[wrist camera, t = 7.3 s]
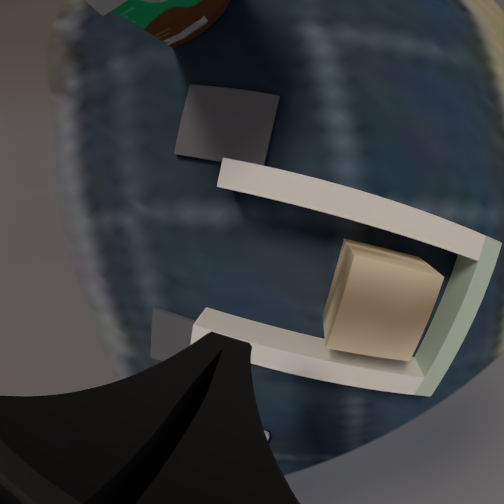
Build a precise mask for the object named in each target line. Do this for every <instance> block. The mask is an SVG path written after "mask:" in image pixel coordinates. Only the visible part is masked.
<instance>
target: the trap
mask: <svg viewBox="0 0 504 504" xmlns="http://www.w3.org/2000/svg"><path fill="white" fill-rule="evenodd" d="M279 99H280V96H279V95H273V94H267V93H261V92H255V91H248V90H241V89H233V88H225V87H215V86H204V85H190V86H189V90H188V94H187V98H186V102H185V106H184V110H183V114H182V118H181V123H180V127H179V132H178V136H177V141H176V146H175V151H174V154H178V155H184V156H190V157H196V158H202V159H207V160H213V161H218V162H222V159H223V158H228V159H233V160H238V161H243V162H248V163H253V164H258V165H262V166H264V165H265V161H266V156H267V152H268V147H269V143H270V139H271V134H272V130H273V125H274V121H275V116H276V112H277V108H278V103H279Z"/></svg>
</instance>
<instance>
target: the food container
mask: <svg viewBox="0 0 504 504" xmlns="http://www.w3.org/2000/svg"><path fill="white" fill-rule="evenodd" d="M85 1H86V2H87V3H88V4H89V5H90V6H92V7H93V8H94V9H95V10H96V11H98V12H99V13H100V14H101V15H102V16H104V15H105V14H107V13H108V12H110V11H113V12H114V13H116V14H118V15H120V16H122V17H123V18H125V19H127V20H129V21H130V22H132V23H134V24H135V25H137V26H139V27H140V28H142V29H144V30H145V31H147V32H148V33H150V34H152V35H153V36H155V37H156V38H158V39H159V40H161V41H163V42H164V43H166V44H167V45H169V46H170V47H172V48H175V47H177V46H180V45H182V44H184V43H186V42H189V41H190V40H192V39H193V38H194V37H196V36H197V35H199V34H200V33H202V32H203V31H205V30H206V29H208V28H209V27H210V26H211V25H212V24H213V23H214V22H215V21H216V20H217V19H218V18H219V17H220V16H221V15H222V14H223V13H224V11H225V9H226V7H227V5H228V4H229V2H230V0H85Z"/></svg>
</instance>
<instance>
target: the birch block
mask: <svg viewBox="0 0 504 504" xmlns="http://www.w3.org/2000/svg"><path fill="white" fill-rule="evenodd" d="M443 279H444V276H442V275H441V274H440V273H439V272H437V271H436V270H435V269H434V268H432V267H431V266H430V265H429V264H427V263H426V262H425V261H423V260H422V259H421V258H420V257H418V256H414V255H410V254H406V253H402V252H398V251H394V250H390V249H386V248H382V247H378V246H374V245H370V244H366V243H362V242H357V241H353V240H349V239H345V238H344V240H343V244H342V248H341V252H340V256H339V260H338V263H337V267H336V271H335V274H334V278H333V282H332V285H331V289H330V292H329V296H328V299H327V302H326V306H325V309H324V312H323V324H324V336H325V348H328V349H333V350H339V351H344V352H350V353H356V354H362V355H368V356H374V357H381V358H388V359H395V360H403V361H410V359H411V357H412V355H413V353H414V351H415V349H416V347H417V345H418V342H419V340H420V338H421V336H422V333H423V331H424V329H425V327H426V324H427V322H428V319H429V317H430V314H431V312H432V309H433V307H434V304H435V302H436V299H437V296H438V294H439V291H440V288H441V285H442V282H443Z"/></svg>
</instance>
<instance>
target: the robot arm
mask: <svg viewBox="0 0 504 504" xmlns="http://www.w3.org/2000/svg"><path fill="white" fill-rule="evenodd" d="M251 350H252V346H251V344H250V343H248V342H245V341H241V340H238V339H234V338H231V337H228V336H225V335H221V334H218V333H215V332H212V331H211V332H209V333H207V334H206V335H204V336H203V337H202V338H200V339H199V340H197V341H196V342H194V343H193V344H191V345H190V346H188V347H186V348H185V349H183V350H182V351H180V352H178V353H177V354H175V355H173V356H171V357H170V358H168V359H166V360H164V361H162V362H160V363H158V364H156V365H154V366H152V367H150V368H148V369H146V370H144V371H142V372H140V373H137V374H135V375H132V376H130V377H127V378H125V379H122V380H119V381H116V382H114V383H110V384H107V385H103V386H100V387H95V388H91V389H86V390H82V391H77V392H72V393H65V394H58V395H47V396H32V397H21V396H0V504H300V503H299V502H298V500H297V499H296V497H295V495H294V494H293V492H292V491H291V489H290V487H289V485H288V483H287V481H286V479H285V477H284V476H283V474H282V472H281V470H280V468H279V466H278V464H277V462H276V460H275V458H274V455H273V453H272V451H271V448H270V446H269V443H268V439H269V436H270V434H269V432H268V431H265V430H264V429H263V426H262V423H261V420H260V416H259V413H258V409H257V404H256V400H255V395H254V389H253V383H252V375H251Z"/></svg>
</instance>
